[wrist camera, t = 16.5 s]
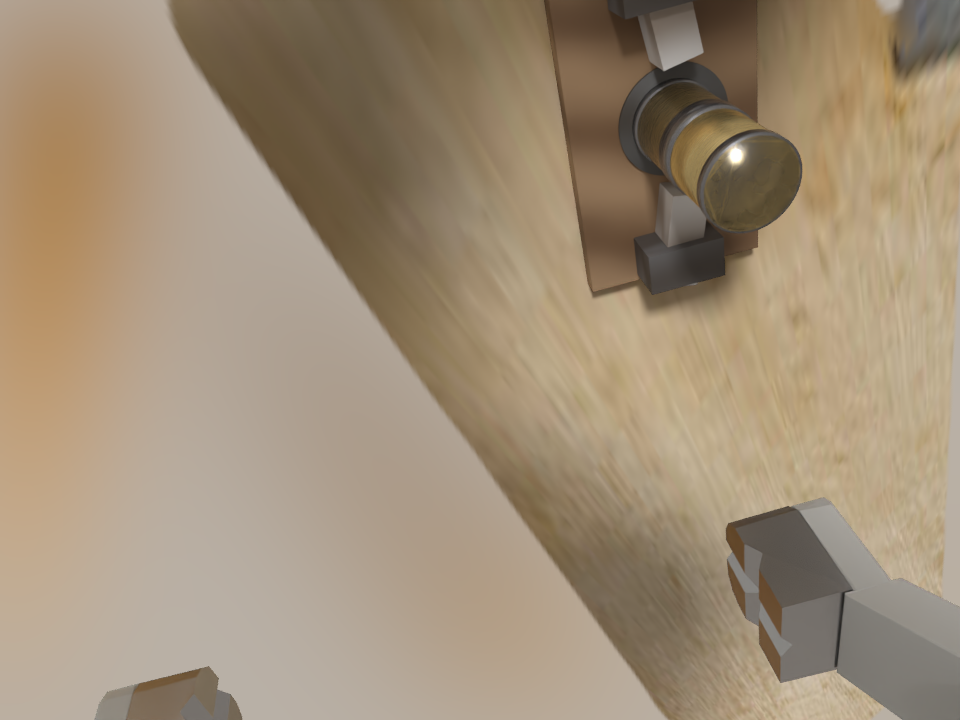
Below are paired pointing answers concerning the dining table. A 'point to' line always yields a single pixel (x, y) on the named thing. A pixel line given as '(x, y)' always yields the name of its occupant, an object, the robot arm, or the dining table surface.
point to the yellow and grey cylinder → (717, 155)
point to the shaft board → (609, 139)
